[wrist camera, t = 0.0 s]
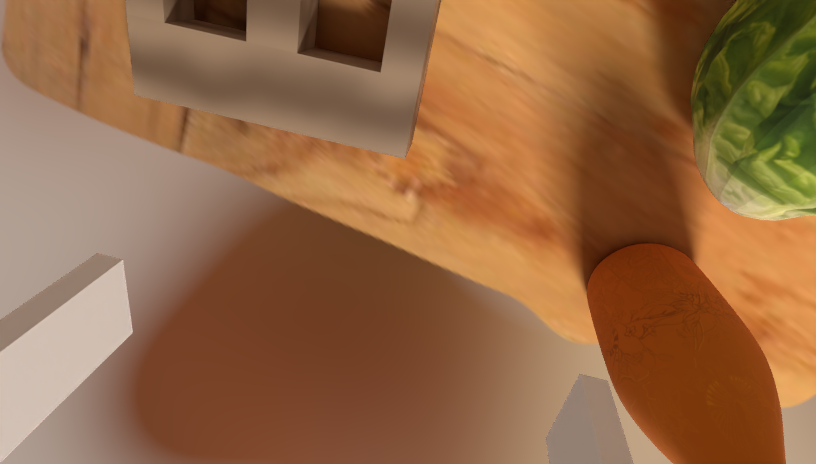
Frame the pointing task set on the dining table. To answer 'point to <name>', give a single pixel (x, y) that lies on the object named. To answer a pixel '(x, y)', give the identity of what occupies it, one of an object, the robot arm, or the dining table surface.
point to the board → (285, 70)
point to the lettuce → (759, 109)
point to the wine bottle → (684, 360)
